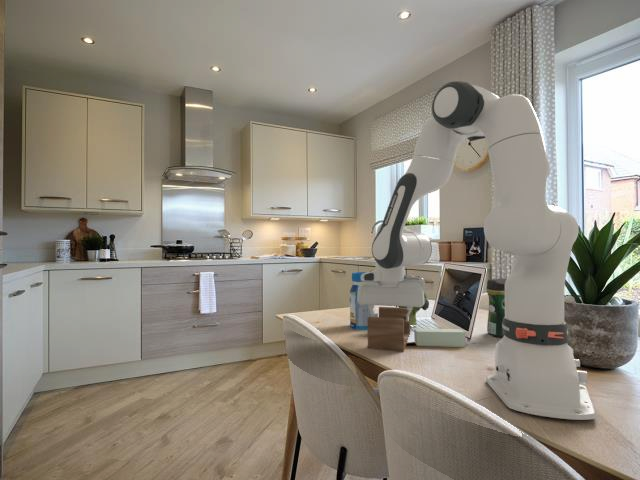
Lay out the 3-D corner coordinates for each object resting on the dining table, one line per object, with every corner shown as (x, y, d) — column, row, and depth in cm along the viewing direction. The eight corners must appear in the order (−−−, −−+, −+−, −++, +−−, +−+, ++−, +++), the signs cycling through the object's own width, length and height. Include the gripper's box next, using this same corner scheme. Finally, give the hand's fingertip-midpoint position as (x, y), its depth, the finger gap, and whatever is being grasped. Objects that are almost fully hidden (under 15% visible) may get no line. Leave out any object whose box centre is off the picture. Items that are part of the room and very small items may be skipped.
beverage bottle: (366, 333, 127) (365, 273, 127) (345, 330, 132) (344, 272, 132) (378, 329, 134) (377, 272, 134) (357, 325, 139) (357, 271, 139)
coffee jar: (510, 332, 128) (510, 277, 128) (524, 337, 120) (524, 279, 120) (483, 332, 127) (482, 277, 128) (495, 338, 120) (494, 279, 120)
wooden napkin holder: (403, 352, 105) (403, 319, 105) (367, 349, 108) (367, 317, 108) (410, 335, 124) (409, 308, 124) (379, 333, 127) (379, 306, 127)
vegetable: (415, 333, 126) (415, 288, 127) (385, 327, 136) (385, 285, 136) (435, 328, 134) (435, 286, 135) (405, 322, 144) (405, 283, 144)
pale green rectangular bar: (461, 344, 114) (461, 329, 114) (465, 347, 110) (465, 332, 110) (414, 343, 115) (414, 328, 115) (416, 346, 111) (416, 331, 111)
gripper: (425, 275, 116) (426, 320, 115) (360, 273, 122) (360, 316, 122) (424, 276, 110) (424, 324, 109) (355, 275, 116) (355, 320, 116)
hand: (390, 320), depth 116 cm, fingers open, 8 cm apart
